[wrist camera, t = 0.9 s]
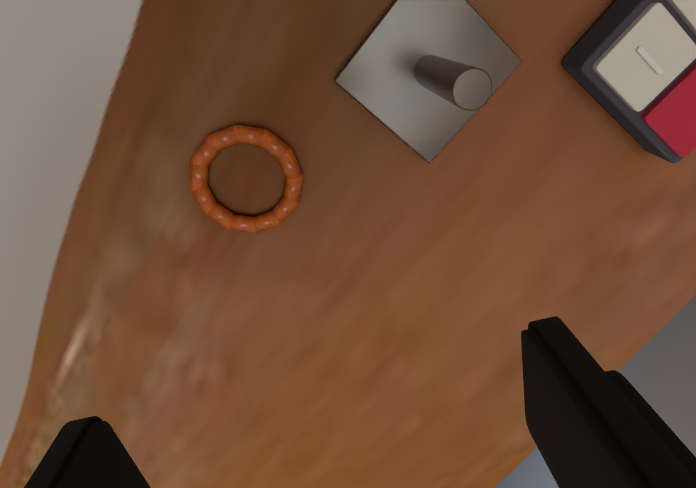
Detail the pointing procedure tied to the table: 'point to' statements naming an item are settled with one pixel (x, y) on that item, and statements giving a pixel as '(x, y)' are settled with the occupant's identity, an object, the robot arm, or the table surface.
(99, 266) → the table surface
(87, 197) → the table surface
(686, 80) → the calculator
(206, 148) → the orange ring
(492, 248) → the table surface
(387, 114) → the post
